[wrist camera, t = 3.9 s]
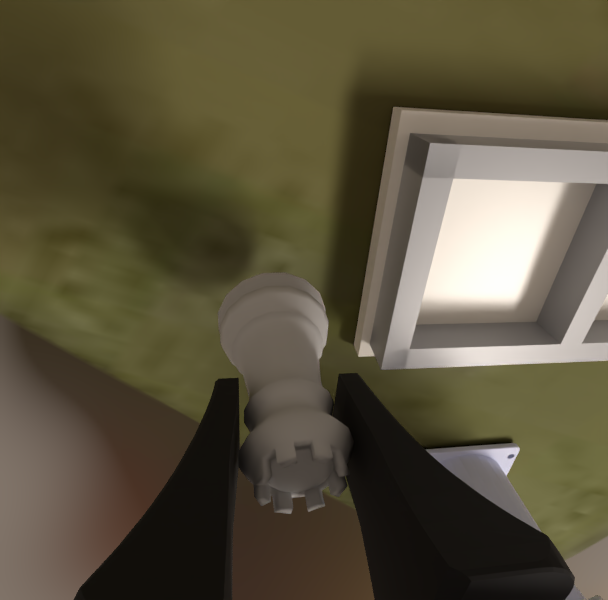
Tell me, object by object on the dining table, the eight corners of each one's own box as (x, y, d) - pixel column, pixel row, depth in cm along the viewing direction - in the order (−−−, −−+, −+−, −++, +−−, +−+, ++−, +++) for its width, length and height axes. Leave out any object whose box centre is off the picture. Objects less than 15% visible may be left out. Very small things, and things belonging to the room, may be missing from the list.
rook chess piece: (344, 298, 17) (419, 458, 11) (282, 368, 19) (315, 545, 12) (257, 245, 16) (284, 402, 9) (196, 327, 17) (180, 514, 10)
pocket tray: (670, 335, 26) (717, 366, 23) (353, 345, 23) (368, 382, 20) (803, 132, 20) (887, 145, 17) (393, 106, 16) (421, 117, 14)
